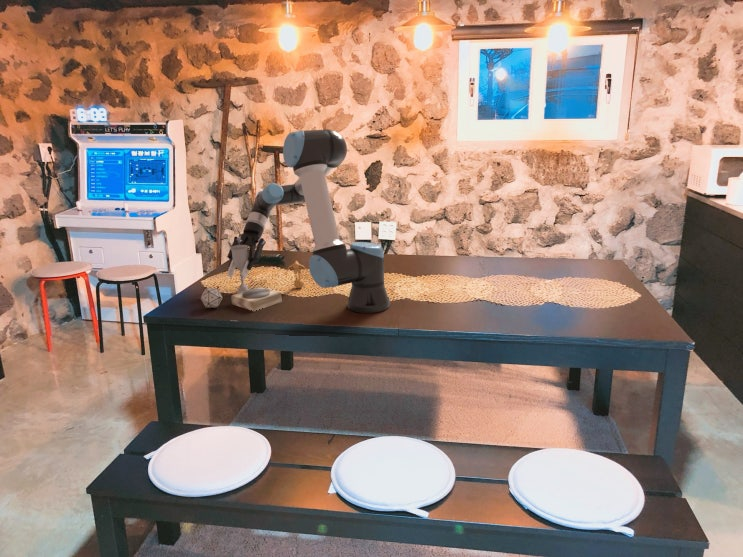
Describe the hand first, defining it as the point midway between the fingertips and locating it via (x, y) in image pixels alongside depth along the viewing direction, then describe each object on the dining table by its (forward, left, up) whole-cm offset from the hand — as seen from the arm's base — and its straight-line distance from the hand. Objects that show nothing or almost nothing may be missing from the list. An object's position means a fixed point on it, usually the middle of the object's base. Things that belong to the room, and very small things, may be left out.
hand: (236, 275), depth 230 cm
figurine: (-15, -18, -8) cm, 25 cm away
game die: (-6, +16, -8) cm, 19 cm away
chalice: (+1, -3, -8) cm, 8 cm away
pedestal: (-15, +3, -7) cm, 17 cm away
